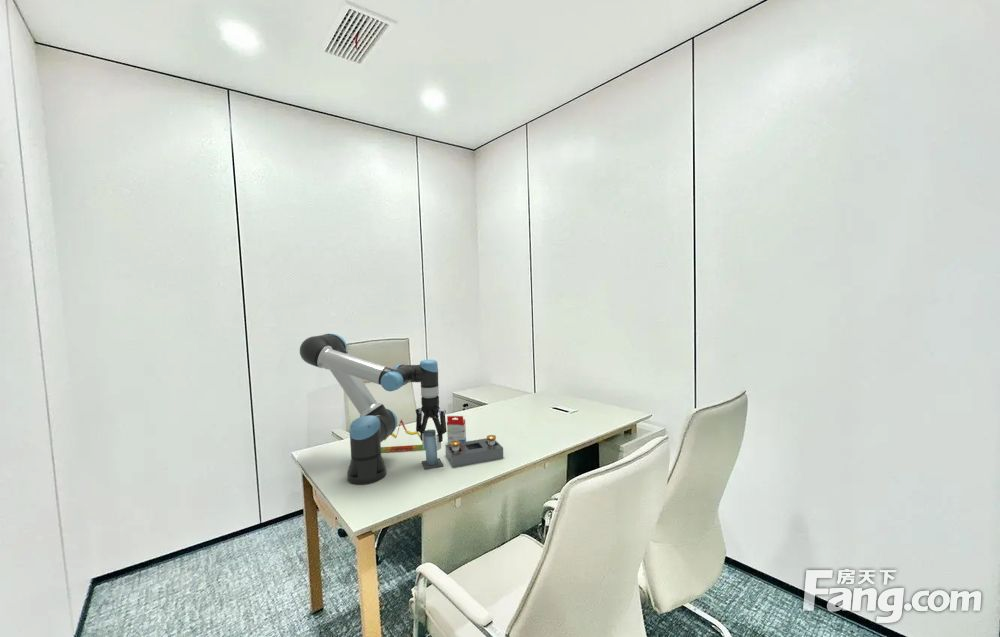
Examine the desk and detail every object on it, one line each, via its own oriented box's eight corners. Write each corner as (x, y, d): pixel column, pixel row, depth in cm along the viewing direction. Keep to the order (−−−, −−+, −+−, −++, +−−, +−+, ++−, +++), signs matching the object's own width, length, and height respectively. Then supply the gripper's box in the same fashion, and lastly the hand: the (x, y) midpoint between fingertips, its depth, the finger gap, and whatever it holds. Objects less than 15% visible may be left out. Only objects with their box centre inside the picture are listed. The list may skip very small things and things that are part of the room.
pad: (424, 469, 165) (424, 468, 165) (421, 462, 172) (421, 461, 172) (443, 466, 168) (443, 465, 168) (439, 459, 175) (439, 458, 175)
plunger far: (488, 455, 177) (488, 438, 177) (485, 451, 181) (485, 435, 181) (497, 453, 179) (497, 437, 178) (494, 450, 183) (494, 434, 182)
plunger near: (452, 461, 171) (451, 444, 171) (450, 457, 175) (449, 441, 175) (461, 459, 173) (461, 443, 172) (459, 456, 177) (458, 440, 176)
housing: (453, 467, 166) (452, 456, 166) (445, 455, 179) (445, 444, 179) (503, 458, 174) (503, 447, 174) (492, 447, 187) (492, 437, 187)
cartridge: (434, 465, 167) (431, 433, 166) (424, 464, 169) (422, 432, 168) (439, 461, 171) (437, 429, 171) (430, 460, 173) (427, 429, 172)
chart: (363, 454, 183) (361, 423, 183) (364, 452, 187) (363, 421, 186) (428, 450, 186) (427, 419, 185) (429, 448, 190) (428, 417, 189)
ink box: (466, 442, 196) (465, 413, 195) (464, 445, 191) (463, 416, 190) (449, 441, 196) (448, 413, 196) (447, 445, 192) (446, 416, 191)
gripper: (454, 395, 169) (455, 447, 170) (415, 392, 175) (417, 442, 176) (446, 399, 162) (447, 453, 163) (405, 396, 168) (407, 449, 169)
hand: (431, 448), depth 170 cm, fingers open, 6 cm apart
